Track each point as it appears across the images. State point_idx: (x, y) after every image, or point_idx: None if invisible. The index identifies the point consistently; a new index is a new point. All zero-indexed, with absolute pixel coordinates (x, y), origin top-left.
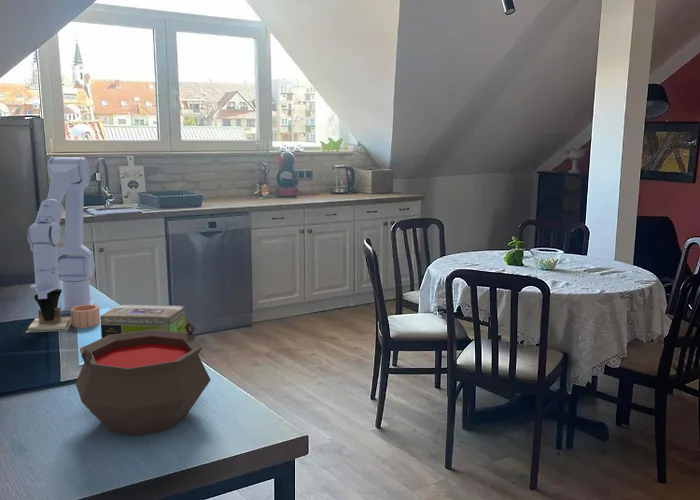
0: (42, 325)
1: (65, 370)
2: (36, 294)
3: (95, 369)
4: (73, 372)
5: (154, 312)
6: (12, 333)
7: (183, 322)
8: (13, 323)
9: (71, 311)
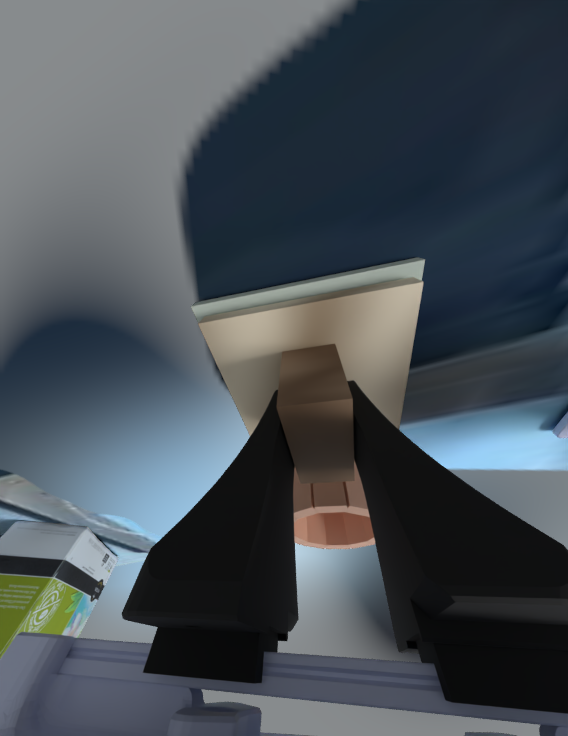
0: (251, 376)
1: (6, 482)
2: (238, 622)
3: None
4: (10, 491)
5: None
6: (202, 198)
7: None
8: (512, 4)
9: (301, 502)
